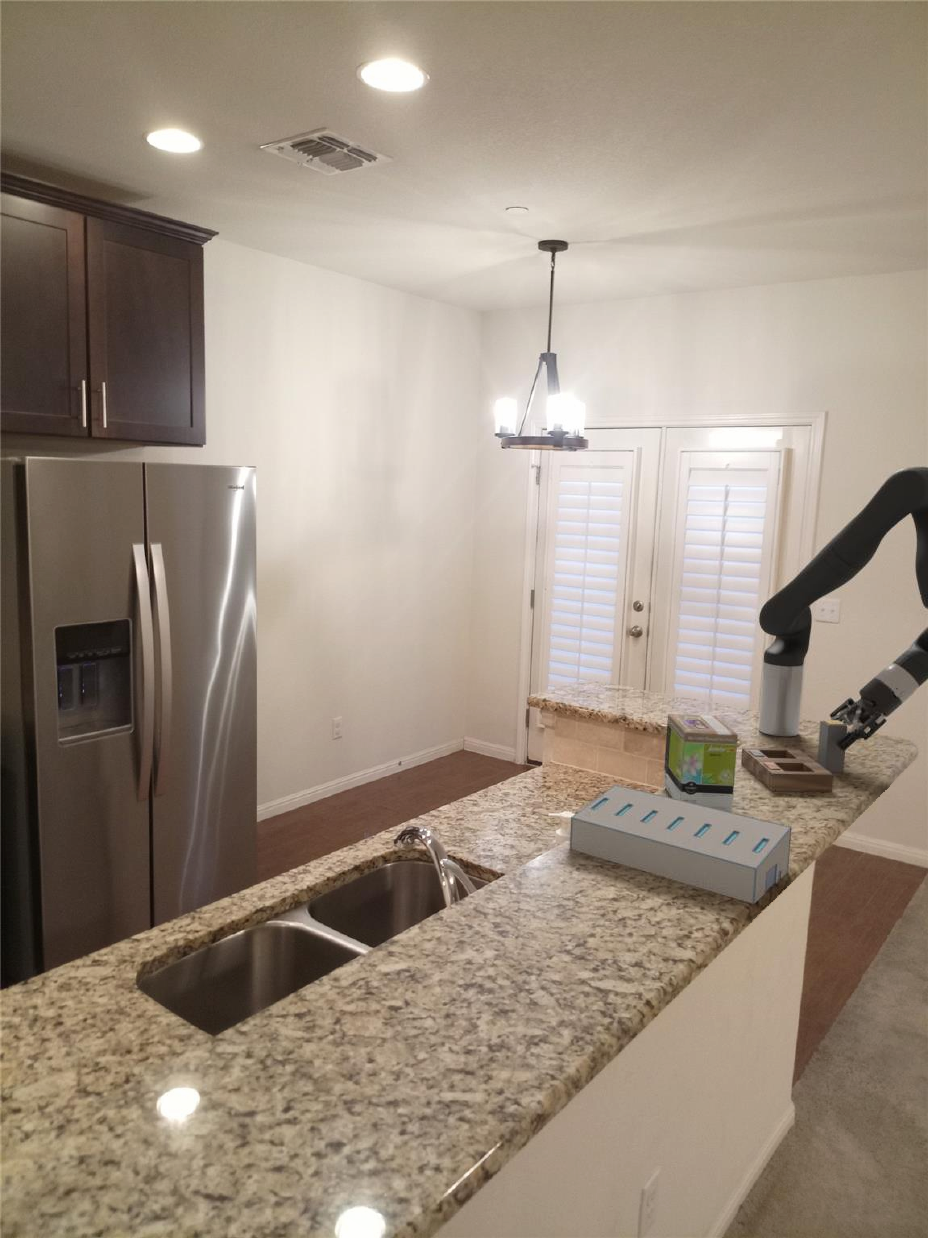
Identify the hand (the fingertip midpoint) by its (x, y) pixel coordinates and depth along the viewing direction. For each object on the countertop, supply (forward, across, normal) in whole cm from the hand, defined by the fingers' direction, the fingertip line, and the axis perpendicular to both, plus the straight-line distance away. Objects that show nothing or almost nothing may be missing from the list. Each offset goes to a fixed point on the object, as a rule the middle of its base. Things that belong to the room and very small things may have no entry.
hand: (830, 742), depth 189 cm
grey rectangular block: (+4, 0, +4) cm, 6 cm away
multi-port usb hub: (+37, +49, -27) cm, 67 cm away
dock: (+12, +6, -4) cm, 14 cm away
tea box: (+28, +20, -19) cm, 40 cm away
